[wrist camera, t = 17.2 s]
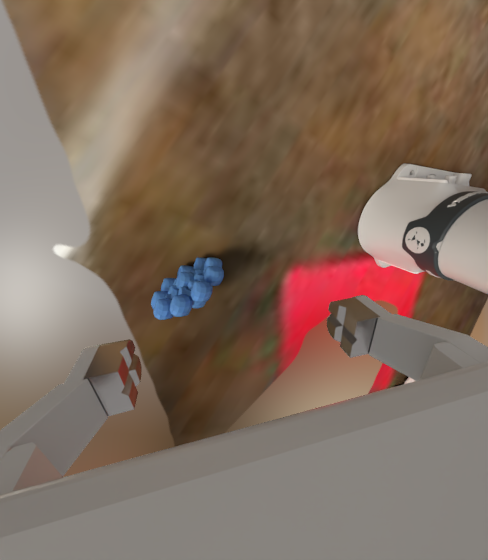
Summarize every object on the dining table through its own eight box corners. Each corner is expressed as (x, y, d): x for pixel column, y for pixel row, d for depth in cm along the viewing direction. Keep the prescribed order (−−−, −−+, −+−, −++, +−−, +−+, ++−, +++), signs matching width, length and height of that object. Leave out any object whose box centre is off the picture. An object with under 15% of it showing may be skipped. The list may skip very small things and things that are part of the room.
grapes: (171, 304, 41) (167, 352, 30) (148, 274, 37) (133, 316, 27) (229, 273, 41) (245, 310, 30) (211, 240, 37) (222, 269, 27)
